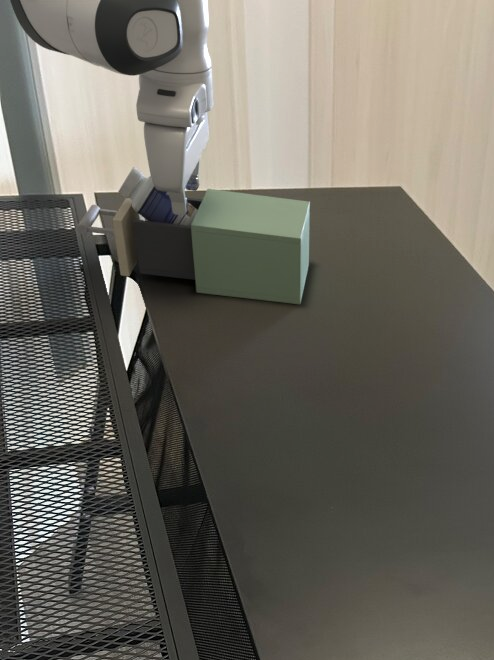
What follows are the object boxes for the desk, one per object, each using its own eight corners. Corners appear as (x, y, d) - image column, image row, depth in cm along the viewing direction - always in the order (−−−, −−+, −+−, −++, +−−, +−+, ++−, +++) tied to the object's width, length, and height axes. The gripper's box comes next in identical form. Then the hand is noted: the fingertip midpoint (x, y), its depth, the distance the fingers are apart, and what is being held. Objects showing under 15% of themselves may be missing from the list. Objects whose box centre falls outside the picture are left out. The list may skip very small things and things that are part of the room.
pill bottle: (201, 211, 118) (136, 161, 113) (180, 245, 119) (114, 196, 114) (198, 210, 122) (136, 162, 117) (178, 242, 123) (115, 195, 118)
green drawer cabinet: (196, 292, 121) (190, 224, 114) (211, 253, 129) (207, 188, 123) (300, 304, 122) (300, 238, 115) (308, 265, 131) (309, 201, 124)
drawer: (78, 270, 119) (67, 214, 113) (100, 236, 127) (91, 181, 121) (218, 287, 121) (215, 232, 115) (231, 252, 129) (228, 199, 123)
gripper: (168, 61, 115) (178, 169, 124) (132, 110, 100) (146, 227, 110) (216, 68, 115) (222, 175, 125) (187, 118, 101) (196, 234, 111)
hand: (186, 200), depth 118 cm, fingers open, 7 cm apart
